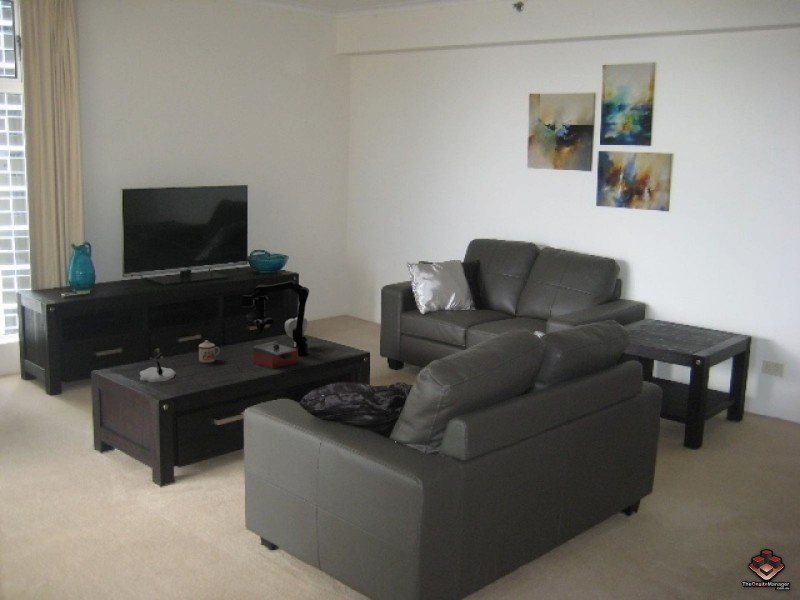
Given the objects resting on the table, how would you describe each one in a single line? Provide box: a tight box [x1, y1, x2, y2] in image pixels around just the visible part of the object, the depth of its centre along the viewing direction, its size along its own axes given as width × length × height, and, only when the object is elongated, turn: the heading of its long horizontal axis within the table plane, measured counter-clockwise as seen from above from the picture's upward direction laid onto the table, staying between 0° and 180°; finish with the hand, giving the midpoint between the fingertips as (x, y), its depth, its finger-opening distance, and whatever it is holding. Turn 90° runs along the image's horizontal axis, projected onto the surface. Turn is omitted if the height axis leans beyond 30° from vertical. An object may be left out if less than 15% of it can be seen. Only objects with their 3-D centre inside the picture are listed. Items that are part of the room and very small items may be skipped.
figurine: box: [139, 348, 177, 383], centre depth 456 cm, size 20×18×16 cm
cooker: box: [253, 342, 299, 370], centre depth 488 cm, size 19×18×9 cm
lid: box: [253, 340, 296, 355], centre depth 488 cm, size 16×18×5 cm
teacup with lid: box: [198, 340, 221, 364], centre depth 489 cm, size 12×9×12 cm
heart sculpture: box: [284, 316, 308, 347], centre depth 520 cm, size 16×5×18 cm, turn 142°
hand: (260, 333), depth 505 cm, fingers closed
